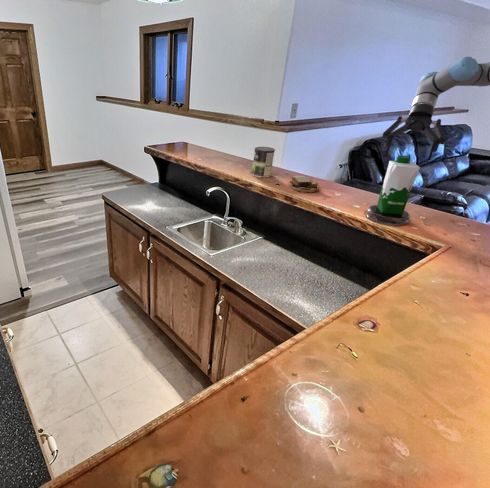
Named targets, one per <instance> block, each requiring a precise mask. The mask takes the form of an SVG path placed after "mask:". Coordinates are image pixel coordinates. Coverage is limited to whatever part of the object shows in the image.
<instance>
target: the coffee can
mask: <svg viewBox="0 0 490 488" xmlns="http://www.w3.org/2000/svg"><path fill="white" fill-rule="evenodd" d="M275 151H276V149H275V148H273V147H269V146H257V147H254V153H253V162H252V169H251V176H252V177H254V178H255V177H256V178H261V177H263V178H265V177H267V178H270V177H271V176H272V170H273V162H274V157H275ZM263 178H262V179H263ZM265 179H266V178H265Z"/></svg>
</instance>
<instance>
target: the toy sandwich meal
mask: <svg viewBox="0 0 490 488" xmlns="http://www.w3.org/2000/svg"><path fill="white" fill-rule="evenodd" d="M289 183H290V187H291V189H292V190H293V191H296V192H299V191H300V193H307V192H310V193H315V192H316V191H319V187H318V186H319V182H316V183H315V182H314V181H313V180H312V179H311V178H308V177H307V176H305V175H293V176H292V177H291V180H290V181H289Z"/></svg>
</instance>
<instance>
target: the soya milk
mask: <svg viewBox="0 0 490 488" xmlns="http://www.w3.org/2000/svg"><path fill="white" fill-rule="evenodd" d="M411 158H412V157H411V156H408V155H397V157H396V160H389V161H388V166H387V168H386V169H387V170H386V172H385V176H384V179H383V183H382V186H381V190H380V192H379V196H378V199H377V203H376V205H377V207H378V208H379V210H380V211H381V212H382V213H390V214H401V215H403V212H404V210H405V209H406V206H407V204H408V200H409V198H410V195H411V192H412V189H413V186H414V183H415V181H416V178H417V175H418V173H419V171H420V170H421V166H419V165H418V164H417V163H414V162H412V161H411Z"/></svg>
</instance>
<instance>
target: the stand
mask: <svg viewBox="0 0 490 488" xmlns="http://www.w3.org/2000/svg"><path fill="white" fill-rule="evenodd" d="M365 217H366V219H367V220H368V221H370V222H373V223H375V224H379V225H382V226H385V227H396V228H397V227H398V228H399V227H405V226H407V225H408V222H409V219H410V217H411V214H410V213H409V212H408V211H406V210H405V209H404V212H403V215H401V214H390V213H382V212H381V211H380V210H379V208H378V207H377V204H373V205H370V206H368V207H367V210H366V214H365Z"/></svg>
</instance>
